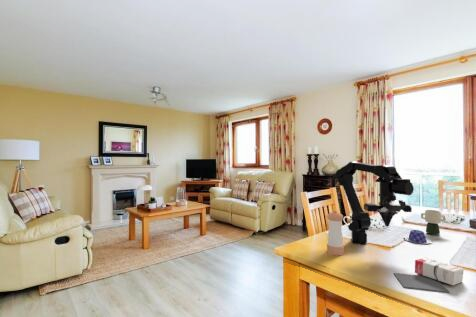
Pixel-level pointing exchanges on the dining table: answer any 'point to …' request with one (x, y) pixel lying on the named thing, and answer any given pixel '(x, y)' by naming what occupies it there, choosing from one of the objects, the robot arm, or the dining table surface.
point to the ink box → (439, 271)
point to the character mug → (432, 221)
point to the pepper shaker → (335, 234)
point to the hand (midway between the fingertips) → (386, 226)
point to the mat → (420, 282)
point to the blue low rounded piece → (418, 237)
